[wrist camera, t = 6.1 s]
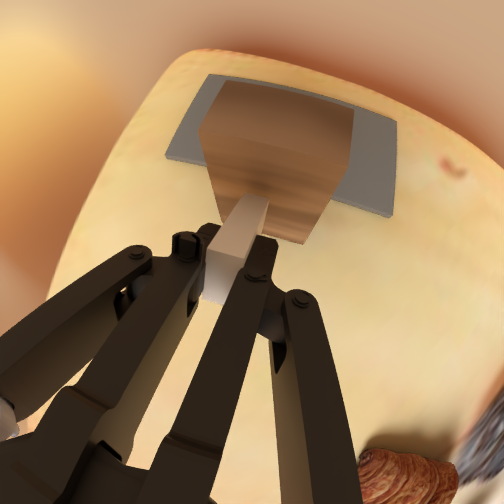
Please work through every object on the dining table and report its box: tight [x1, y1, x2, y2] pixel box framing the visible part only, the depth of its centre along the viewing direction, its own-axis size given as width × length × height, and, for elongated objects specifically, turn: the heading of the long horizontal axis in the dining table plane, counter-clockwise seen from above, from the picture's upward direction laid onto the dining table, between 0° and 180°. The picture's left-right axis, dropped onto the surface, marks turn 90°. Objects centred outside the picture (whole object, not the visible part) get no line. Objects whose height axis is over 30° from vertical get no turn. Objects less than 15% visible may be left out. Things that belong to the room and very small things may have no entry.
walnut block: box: [197, 80, 354, 245], centre depth 18 cm, size 4×7×12 cm, turn 74°
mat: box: [165, 74, 397, 218], centre depth 25 cm, size 12×22×1 cm, turn 74°
